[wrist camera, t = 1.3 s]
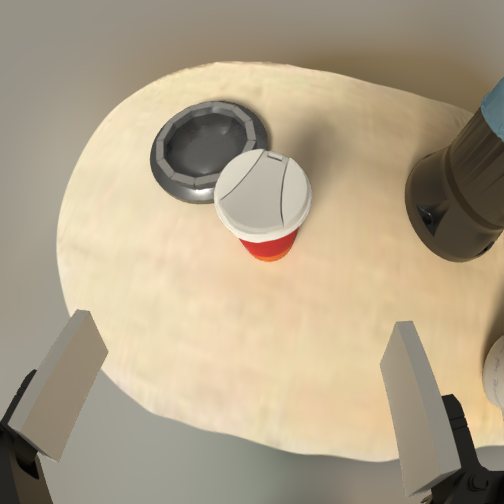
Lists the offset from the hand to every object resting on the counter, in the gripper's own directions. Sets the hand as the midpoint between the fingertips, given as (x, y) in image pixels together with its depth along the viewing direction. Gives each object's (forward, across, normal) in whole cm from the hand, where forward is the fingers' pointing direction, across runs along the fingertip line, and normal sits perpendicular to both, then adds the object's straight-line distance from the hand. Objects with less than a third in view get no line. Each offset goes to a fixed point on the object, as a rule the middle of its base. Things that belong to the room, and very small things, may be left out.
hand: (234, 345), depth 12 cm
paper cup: (+23, +1, -8) cm, 25 cm away
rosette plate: (+32, -8, +1) cm, 33 cm away
